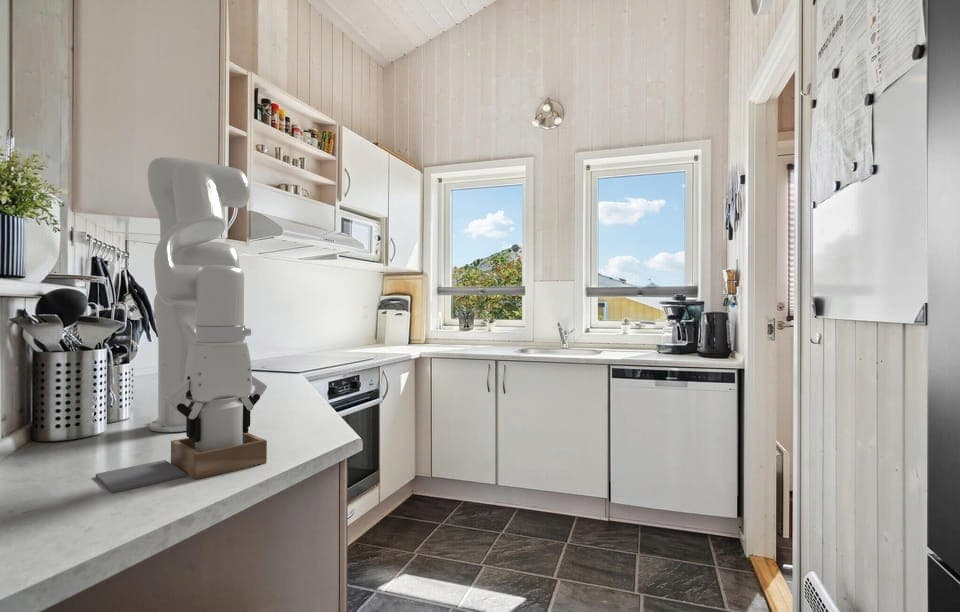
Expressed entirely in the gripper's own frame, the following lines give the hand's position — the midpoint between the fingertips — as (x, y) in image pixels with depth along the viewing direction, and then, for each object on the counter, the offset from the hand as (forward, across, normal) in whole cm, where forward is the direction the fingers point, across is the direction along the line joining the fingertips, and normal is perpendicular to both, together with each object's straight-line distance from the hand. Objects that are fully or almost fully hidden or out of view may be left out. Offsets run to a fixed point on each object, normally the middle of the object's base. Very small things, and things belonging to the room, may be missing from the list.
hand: (219, 435), depth 89 cm
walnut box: (+5, 0, 0) cm, 5 cm away
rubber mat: (+5, +11, -2) cm, 13 cm away
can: (+5, 0, 0) cm, 5 cm away
